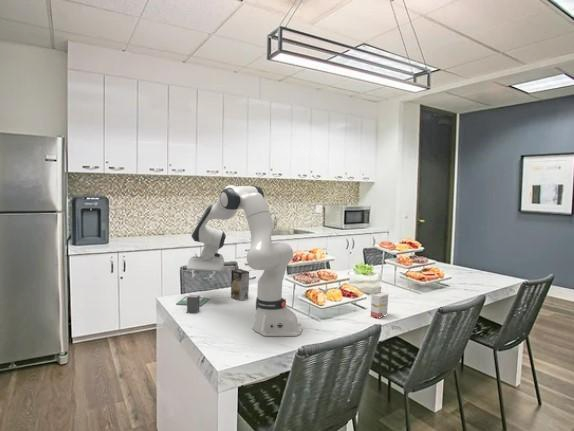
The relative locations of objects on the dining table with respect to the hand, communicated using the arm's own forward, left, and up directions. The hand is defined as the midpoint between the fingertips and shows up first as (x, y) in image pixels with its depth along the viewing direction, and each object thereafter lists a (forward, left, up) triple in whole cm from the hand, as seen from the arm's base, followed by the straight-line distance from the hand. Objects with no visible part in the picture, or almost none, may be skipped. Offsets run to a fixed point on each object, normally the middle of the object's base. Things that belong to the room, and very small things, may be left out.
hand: (202, 278), depth 198 cm
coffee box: (-17, -16, -14) cm, 27 cm away
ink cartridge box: (-94, -2, -14) cm, 95 cm away
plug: (0, +12, -14) cm, 19 cm away
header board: (+6, -4, -14) cm, 16 cm away
